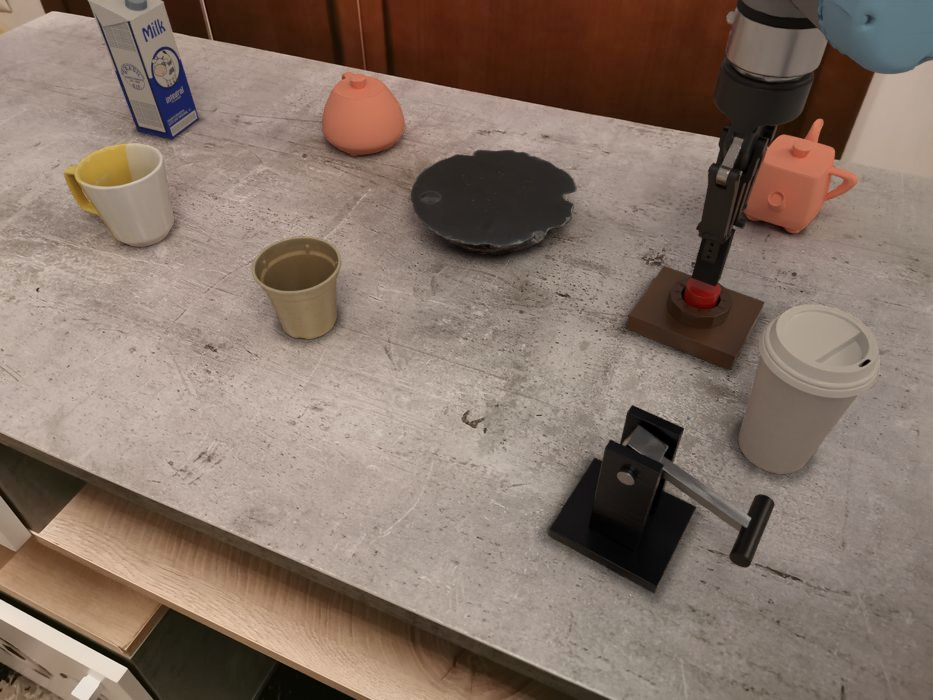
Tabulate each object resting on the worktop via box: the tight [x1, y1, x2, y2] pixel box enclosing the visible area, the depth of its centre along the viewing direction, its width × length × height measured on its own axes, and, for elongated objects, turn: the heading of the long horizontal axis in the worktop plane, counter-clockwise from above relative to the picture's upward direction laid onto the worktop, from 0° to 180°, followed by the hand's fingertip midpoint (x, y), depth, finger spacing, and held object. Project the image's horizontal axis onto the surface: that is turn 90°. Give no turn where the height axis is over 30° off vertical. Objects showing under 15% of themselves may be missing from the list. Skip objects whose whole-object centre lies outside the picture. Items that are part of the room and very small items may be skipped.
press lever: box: [622, 425, 776, 569], centre depth 56 cm, size 12×6×2 cm, turn 57°
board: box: [410, 149, 578, 256], centre depth 94 cm, size 22×22×5 cm
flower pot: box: [251, 235, 342, 340], centre depth 80 cm, size 9×9×9 cm
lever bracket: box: [548, 404, 697, 594], centre depth 60 cm, size 10×9×13 cm
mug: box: [63, 142, 175, 248], centre depth 92 cm, size 14×10×10 cm
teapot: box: [743, 118, 859, 234], centre depth 93 cm, size 14×12×10 cm
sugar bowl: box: [321, 71, 406, 157], centre depth 107 cm, size 12×14×10 cm
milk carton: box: [87, 0, 200, 141], centre depth 108 cm, size 7×7×20 cm
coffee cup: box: [738, 303, 881, 475], centre depth 65 cm, size 10×10×15 cm
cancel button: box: [683, 278, 721, 309], centre depth 79 cm, size 4×4×2 cm
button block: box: [625, 265, 765, 371], centre depth 81 cm, size 12×10×4 cm
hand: (705, 278), depth 78 cm, fingers closed
